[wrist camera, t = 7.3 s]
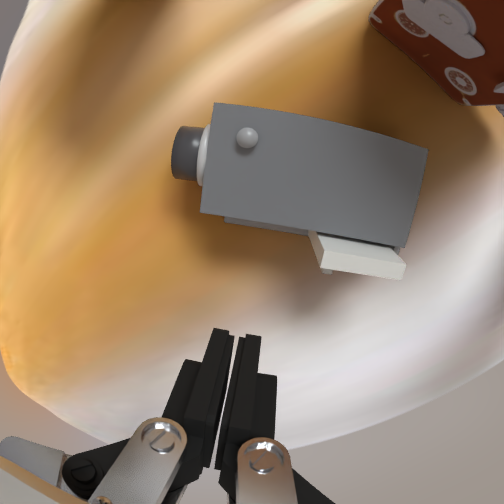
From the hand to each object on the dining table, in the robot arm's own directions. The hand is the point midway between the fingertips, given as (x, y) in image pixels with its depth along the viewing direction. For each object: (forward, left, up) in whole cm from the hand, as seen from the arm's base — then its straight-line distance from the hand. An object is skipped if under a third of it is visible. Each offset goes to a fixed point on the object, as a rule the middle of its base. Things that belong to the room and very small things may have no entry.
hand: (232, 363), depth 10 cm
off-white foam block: (-9, +1, -21) cm, 22 cm away
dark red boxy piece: (-17, -21, -22) cm, 35 cm away
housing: (-3, -4, -21) cm, 22 cm away
